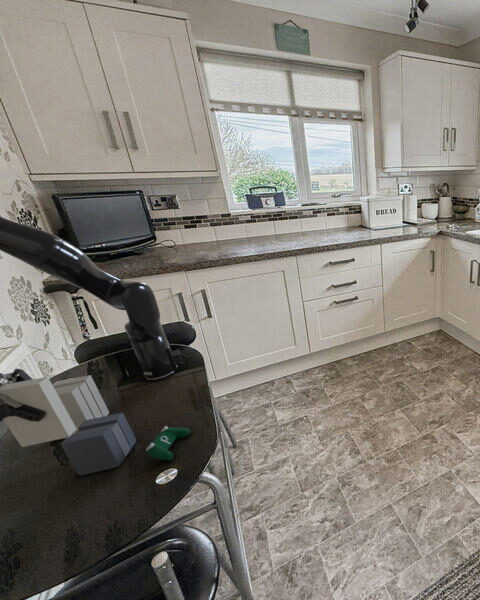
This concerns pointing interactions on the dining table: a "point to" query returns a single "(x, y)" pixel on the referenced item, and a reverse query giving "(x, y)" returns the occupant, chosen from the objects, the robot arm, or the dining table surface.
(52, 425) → the white book
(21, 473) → the dining table surface
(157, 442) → the gaming controller
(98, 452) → the grey books
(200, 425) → the dining table surface
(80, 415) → the white books
